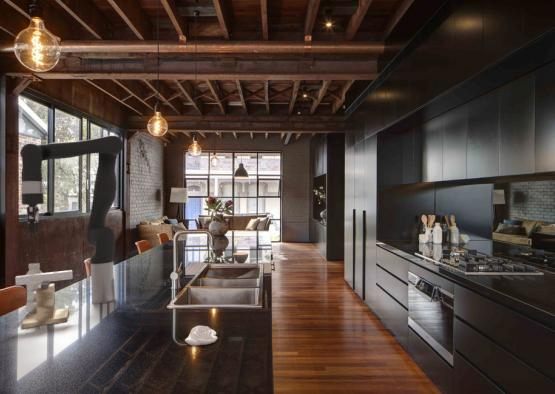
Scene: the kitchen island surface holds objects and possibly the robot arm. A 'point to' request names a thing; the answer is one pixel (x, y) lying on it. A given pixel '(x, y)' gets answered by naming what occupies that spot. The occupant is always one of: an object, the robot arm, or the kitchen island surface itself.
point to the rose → (201, 336)
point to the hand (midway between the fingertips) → (33, 232)
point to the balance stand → (45, 308)
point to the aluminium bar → (43, 277)
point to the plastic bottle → (32, 289)
